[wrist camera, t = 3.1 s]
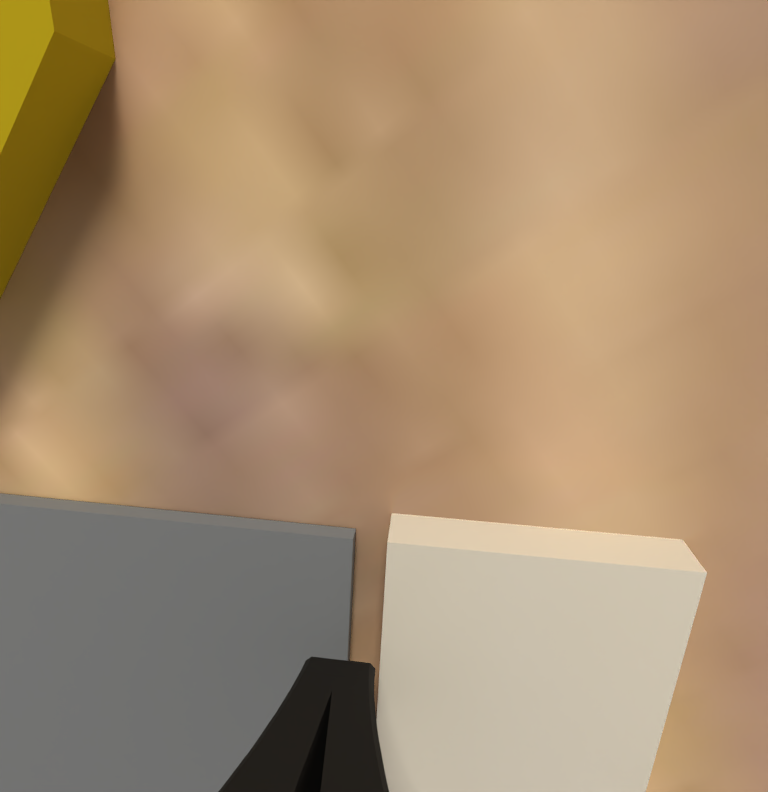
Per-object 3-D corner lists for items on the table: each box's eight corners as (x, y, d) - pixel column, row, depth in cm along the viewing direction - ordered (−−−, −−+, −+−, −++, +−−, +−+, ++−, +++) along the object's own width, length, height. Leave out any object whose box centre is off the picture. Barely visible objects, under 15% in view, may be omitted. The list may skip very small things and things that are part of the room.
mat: (333, 979, 17) (331, 996, 17) (-152, 906, 18) (-164, 920, 18) (355, 529, 12) (353, 539, 12) (-325, 461, 13) (-347, 468, 13)
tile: (378, 738, 15) (613, 766, 14) (371, 799, 13) (634, 832, 13) (393, 501, 12) (673, 527, 12) (387, 542, 11) (707, 572, 11)
